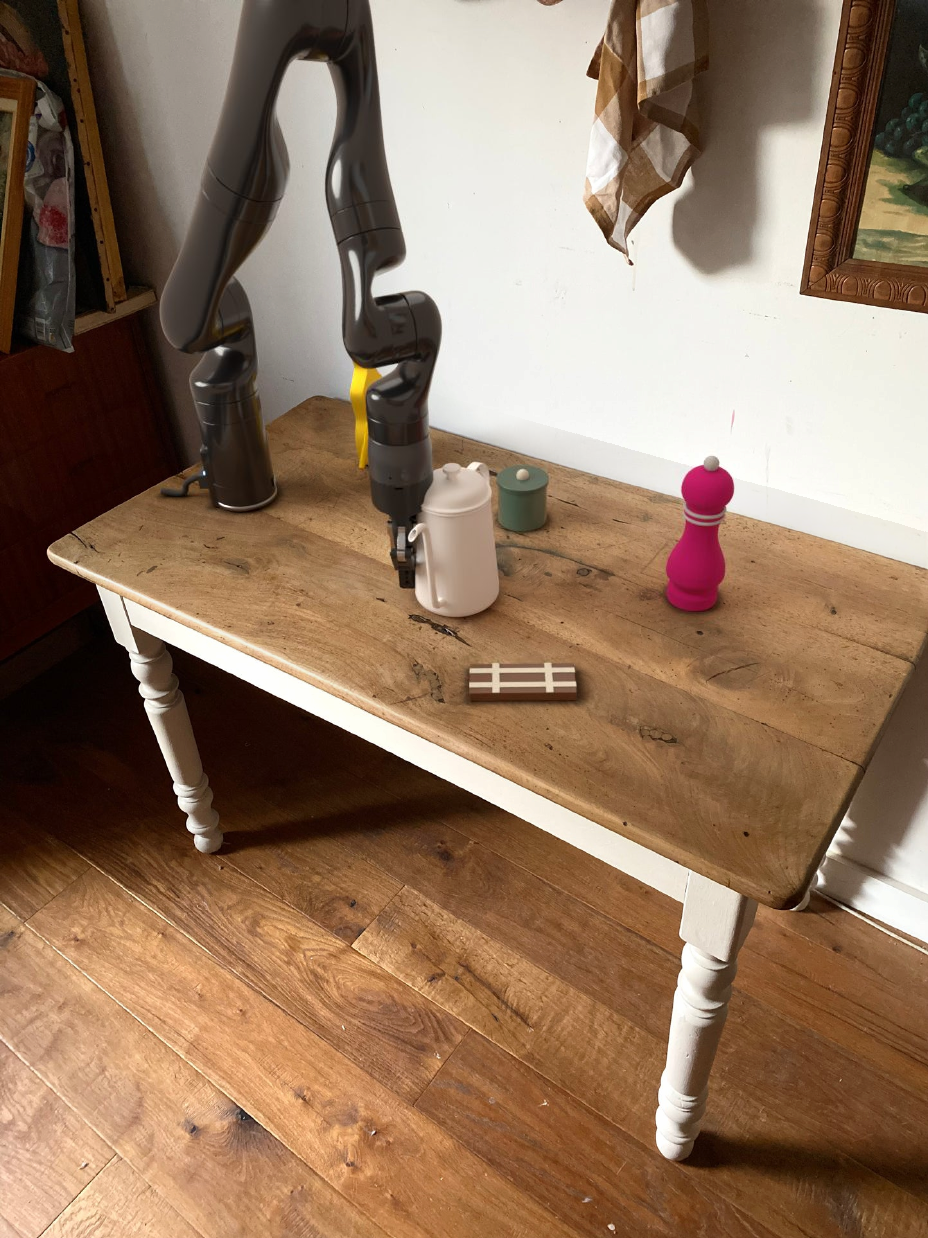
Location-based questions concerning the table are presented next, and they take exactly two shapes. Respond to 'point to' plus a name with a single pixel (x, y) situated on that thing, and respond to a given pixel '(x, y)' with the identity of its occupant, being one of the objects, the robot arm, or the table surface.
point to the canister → (522, 497)
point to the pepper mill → (700, 538)
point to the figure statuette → (361, 408)
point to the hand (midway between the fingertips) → (408, 585)
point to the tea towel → (522, 682)
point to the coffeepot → (456, 543)
